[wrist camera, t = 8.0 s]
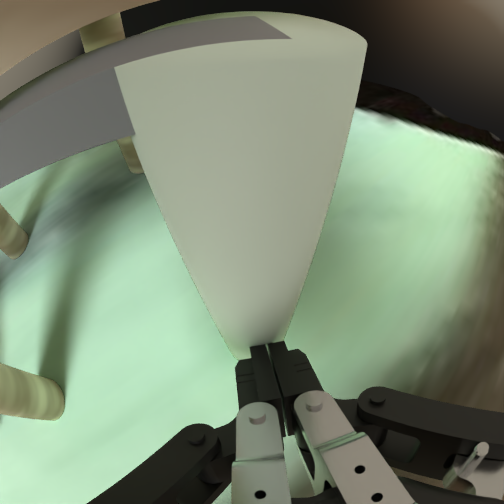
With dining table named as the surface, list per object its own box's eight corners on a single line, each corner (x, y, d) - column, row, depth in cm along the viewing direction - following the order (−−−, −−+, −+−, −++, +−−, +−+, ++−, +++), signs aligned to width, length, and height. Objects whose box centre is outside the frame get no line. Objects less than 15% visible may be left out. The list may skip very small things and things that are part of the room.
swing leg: (103, 383, 16) (-125, 266, 1) (100, 336, 17) (-87, 176, 3) (287, 358, 17) (427, 67, 2) (275, 308, 19) (308, 8, 4)
